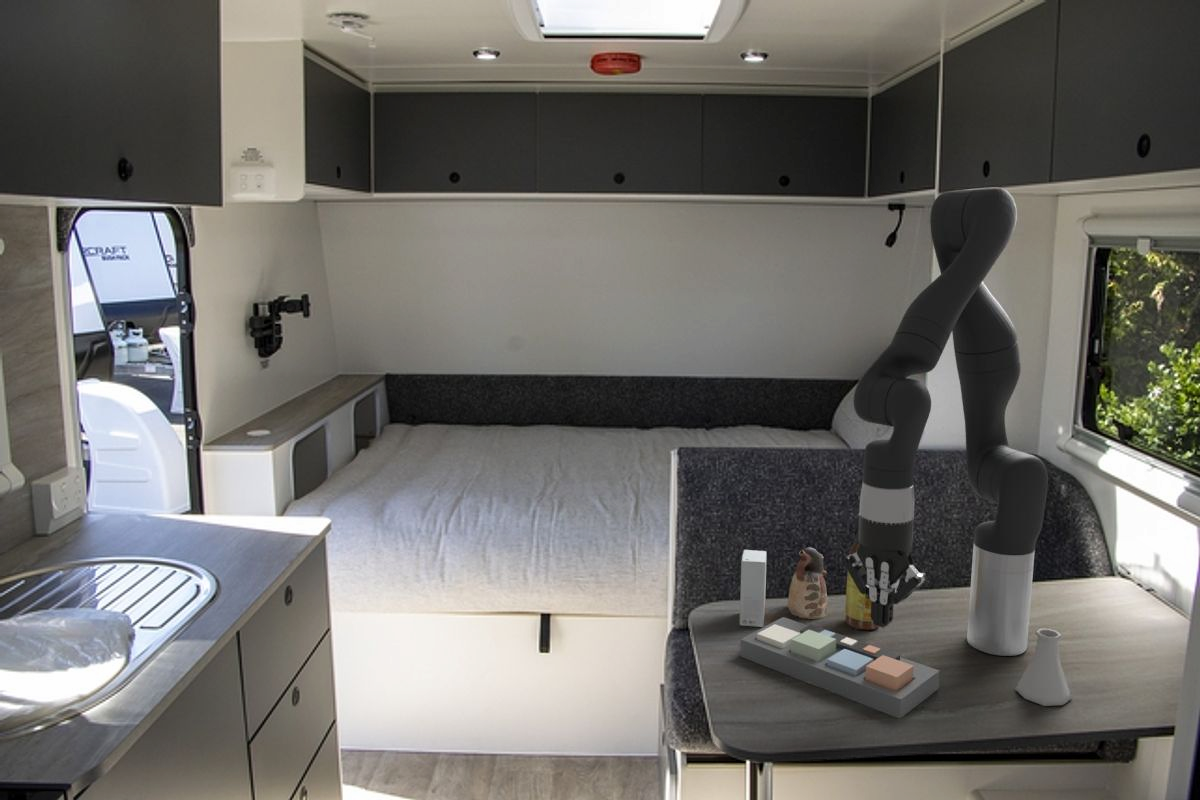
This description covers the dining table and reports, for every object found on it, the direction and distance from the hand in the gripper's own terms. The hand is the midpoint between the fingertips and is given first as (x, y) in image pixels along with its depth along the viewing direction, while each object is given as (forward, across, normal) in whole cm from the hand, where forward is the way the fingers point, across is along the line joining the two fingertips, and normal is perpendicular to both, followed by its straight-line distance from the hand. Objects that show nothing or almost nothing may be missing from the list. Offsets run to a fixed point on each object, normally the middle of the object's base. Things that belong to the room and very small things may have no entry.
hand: (881, 624), depth 142 cm
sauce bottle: (+11, +14, -20) cm, 27 cm away
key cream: (+9, +18, +1) cm, 20 cm away
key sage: (+8, +11, +1) cm, 14 cm away
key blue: (+9, +5, 0) cm, 11 cm away
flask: (+11, -18, -17) cm, 27 cm away
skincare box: (+11, +29, -7) cm, 32 cm away
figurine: (+11, +24, -18) cm, 32 cm away
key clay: (+8, -2, 0) cm, 9 cm away
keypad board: (+11, +8, -1) cm, 13 cm away
